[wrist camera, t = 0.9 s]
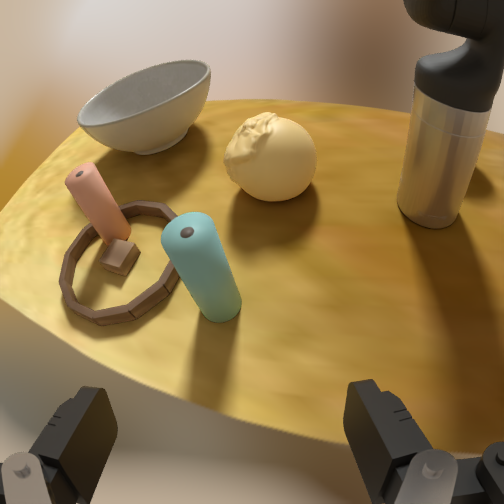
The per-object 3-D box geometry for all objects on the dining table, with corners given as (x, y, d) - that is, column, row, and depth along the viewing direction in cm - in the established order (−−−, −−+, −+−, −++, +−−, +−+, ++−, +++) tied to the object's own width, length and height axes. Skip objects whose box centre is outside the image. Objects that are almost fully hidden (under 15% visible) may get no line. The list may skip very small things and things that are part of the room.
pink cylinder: (115, 221, 47) (79, 162, 38) (136, 225, 45) (101, 162, 36) (99, 243, 45) (58, 185, 35) (120, 249, 43) (79, 187, 34)
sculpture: (248, 158, 51) (236, 100, 43) (322, 164, 47) (320, 102, 39) (223, 207, 45) (203, 143, 36) (308, 218, 41) (305, 148, 33)
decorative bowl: (78, 182, 57) (51, 135, 47) (138, 112, 72) (122, 72, 63) (194, 179, 50) (172, 114, 40) (238, 102, 65) (228, 53, 56)
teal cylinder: (210, 282, 37) (176, 208, 28) (247, 291, 36) (223, 215, 26) (194, 316, 35) (151, 249, 25) (232, 327, 33) (199, 260, 24)
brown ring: (112, 204, 50) (107, 196, 48) (211, 219, 44) (207, 209, 42) (48, 299, 40) (40, 291, 38) (143, 345, 33) (135, 338, 32)
